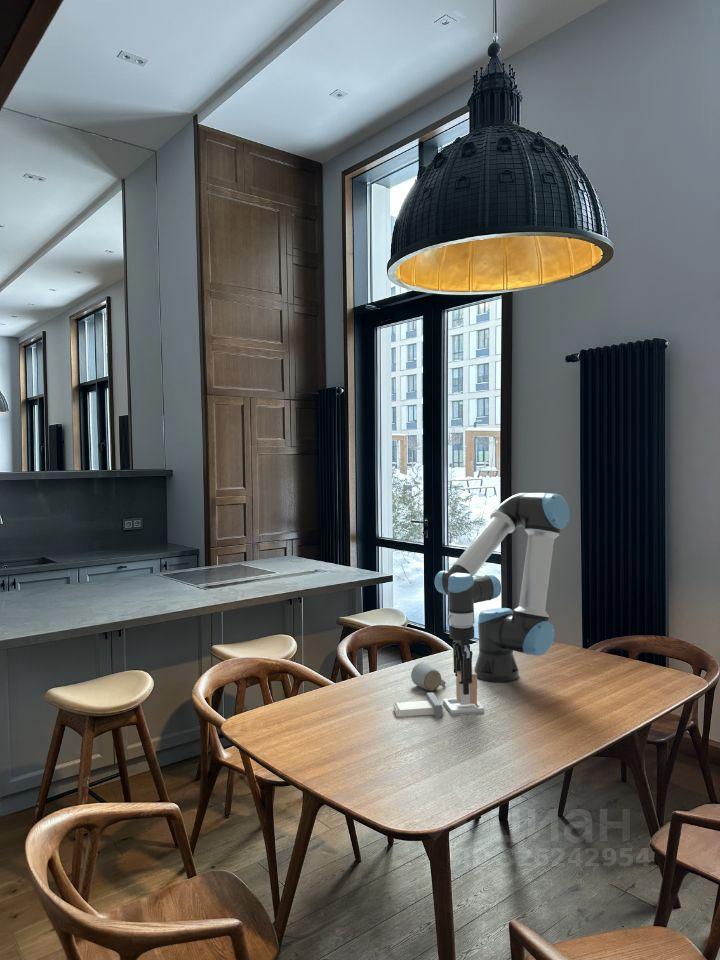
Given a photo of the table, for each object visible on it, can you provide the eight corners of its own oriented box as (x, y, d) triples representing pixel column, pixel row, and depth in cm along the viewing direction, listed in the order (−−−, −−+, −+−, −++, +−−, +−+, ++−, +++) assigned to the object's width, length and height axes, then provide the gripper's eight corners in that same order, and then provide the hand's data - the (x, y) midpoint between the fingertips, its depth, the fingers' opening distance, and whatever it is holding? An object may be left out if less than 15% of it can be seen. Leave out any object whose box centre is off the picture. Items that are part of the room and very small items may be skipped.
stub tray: (474, 701, 214) (474, 696, 214) (484, 712, 204) (484, 707, 204) (443, 703, 213) (443, 698, 213) (451, 715, 203) (451, 710, 203)
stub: (473, 699, 211) (473, 670, 211) (477, 703, 207) (477, 674, 207) (457, 700, 210) (457, 671, 210) (461, 704, 206) (461, 675, 206)
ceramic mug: (424, 693, 222) (424, 670, 222) (410, 686, 229) (410, 664, 229) (451, 688, 227) (451, 665, 227) (436, 681, 234) (436, 659, 234)
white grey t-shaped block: (436, 703, 213) (436, 692, 213) (445, 716, 202) (445, 704, 202) (392, 706, 211) (391, 695, 211) (398, 720, 200) (398, 708, 200)
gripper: (442, 619, 216) (444, 692, 216) (457, 632, 199) (458, 712, 199) (465, 618, 217) (467, 691, 217) (482, 631, 200) (483, 710, 200)
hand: (463, 701), depth 208 cm, fingers closed on stub, 4 cm apart
